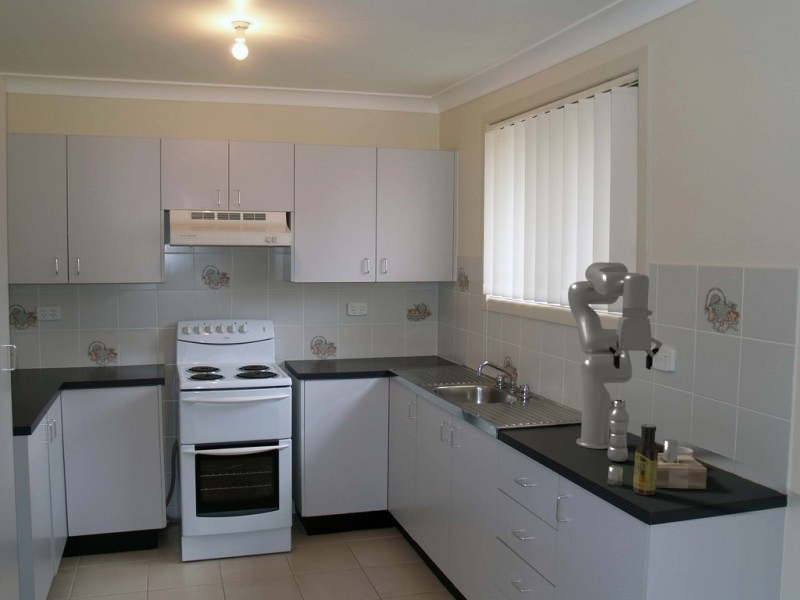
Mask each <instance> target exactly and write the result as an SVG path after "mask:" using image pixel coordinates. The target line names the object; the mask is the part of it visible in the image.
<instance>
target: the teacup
mask: <svg viewBox="0 0 800 600" xmlns="http://www.w3.org/2000/svg"><path fill="white" fill-rule="evenodd" d="M678 454H689V455H690V456H691V457H693V458H694V450H693V449H691V448H689V447H684V446H678Z"/></svg>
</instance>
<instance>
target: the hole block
mask: <svg viewBox="0 0 800 600" xmlns="http://www.w3.org/2000/svg"><path fill="white" fill-rule="evenodd" d="M663 453H664V452H658V467H657V480H656V489H657V488H659V489H661V488H663V489H664V488H665V489H693V490H694V489H695V490H696V489H698V490H706V489H707V471H708V470H707V469H708V468H707V467H705V466H704V465H702V463H700V462H699V461H697V460H696V459H695V457H694V456H693V457H691V456H690V455H689V454H677V463H664V462H663Z"/></svg>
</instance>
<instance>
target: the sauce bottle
mask: <svg viewBox="0 0 800 600" xmlns="http://www.w3.org/2000/svg"><path fill="white" fill-rule="evenodd" d="M640 428H641V436H640V440H639V442H638V445H637V447H636V450H635V454H634V469H633V482H632V483H633V484H632V485H633V491H634V493H636V494H639V495H641V496H652V495H653V496H654V495H655V493H656V489H657V488H656V480H657V467H658V453H659V447H658V446H657V444H656V431H657V425H655V424H652V423H642V424H641V426H640Z"/></svg>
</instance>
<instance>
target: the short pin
mask: <svg viewBox="0 0 800 600" xmlns="http://www.w3.org/2000/svg"><path fill="white" fill-rule="evenodd" d="M623 472H624V468H623V467H622V466H619V465H609V466H608V475H607V485H609V484H610V486H612V485H613V486H612V487H622V485H623V483H622V482H623V474H624V473H623Z"/></svg>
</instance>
